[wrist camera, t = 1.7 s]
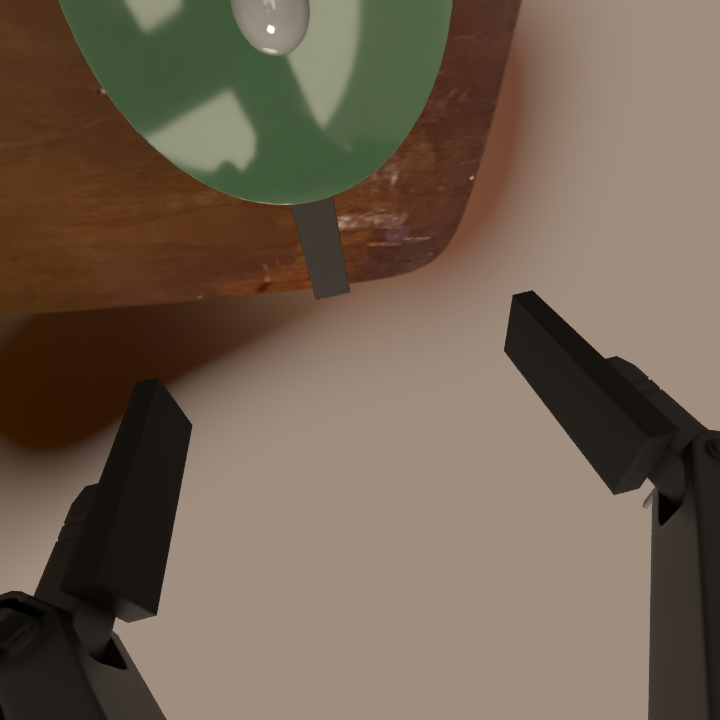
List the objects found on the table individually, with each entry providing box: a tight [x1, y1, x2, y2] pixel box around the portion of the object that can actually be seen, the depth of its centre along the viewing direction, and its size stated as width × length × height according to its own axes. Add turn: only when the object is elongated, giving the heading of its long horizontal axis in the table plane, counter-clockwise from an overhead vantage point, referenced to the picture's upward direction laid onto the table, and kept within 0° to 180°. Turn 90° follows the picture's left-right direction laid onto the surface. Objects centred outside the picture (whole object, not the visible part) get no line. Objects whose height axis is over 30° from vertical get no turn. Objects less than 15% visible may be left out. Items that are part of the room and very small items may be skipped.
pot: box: [59, 0, 453, 300], centre depth 18 cm, size 19×13×13 cm, turn 8°
